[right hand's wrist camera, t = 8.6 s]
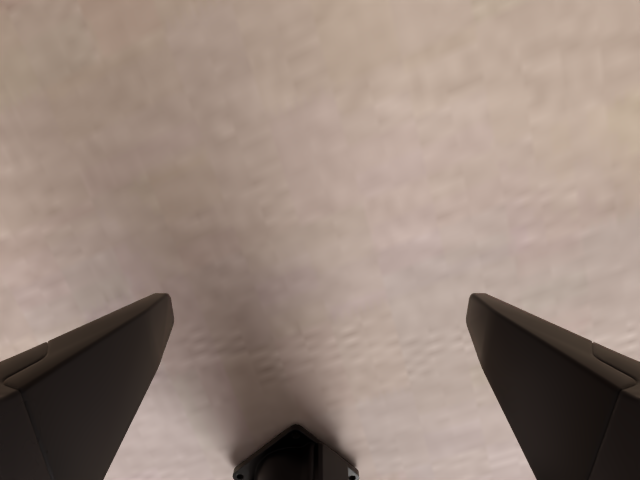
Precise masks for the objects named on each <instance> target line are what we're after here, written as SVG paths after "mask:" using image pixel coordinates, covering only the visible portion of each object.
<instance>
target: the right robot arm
mask: <svg viewBox="0 0 640 480" xmlns="http://www.w3.org/2000/svg"><path fill="white" fill-rule="evenodd" d="M173 323H174V316H173V309H172V303H171V298H170V295H169V294H167V293H155V294H152V295H150V296H148V297H145V298H143V299H141V300H139V301H136V302H134V303H132V304H130V305H128V306H125V307H123V308H121V309H119V310H116V311H114V312H112V313H110V314H108V315H105V316H103V317H101V318H99V319H96V320H94V321H92V322H90V323H88V324H85V325H83V326H81V327H79V328H76V329H74V330H72V331H70V332H67V333H65V334H63V335H61V336H59V337H56V338H54V339H52V340H50V341H48V343H47V342H45V343H43V344H41V345H38V346H36V347H34V348H32V349H29V350H27V351H25V352H23V353H20V354H18V355H16V356H13V357H11V358H8V359H6V360H4V361H1V362H0V480H103V479H104V477H105V475H106V473H107V471H108V469H109V467H110V465H111V463H112V461H113V459H114V457H115V455H116V453H117V451H118V449H119V447H120V445H121V442H122V440H123V438H124V436H125V434H126V432H127V430H128V428H129V426H130V424H131V422H132V420H133V418H134V416H135V414H136V412H137V410H138V408H139V406H140V404H141V402H142V400H143V398H144V396H145V394H146V392H147V390H148V388H149V386H150V383H151V381H152V379H153V377H154V375H155V373H156V371H157V369H158V367H159V364H160V361H161V359H162V356H163V353H164V350H165V347H166V344H167V341H168V339H169V336H170V333H171V330H172V327H173ZM466 323H467V327H468V330H469V333H470V336H471V339H472V341H473V344H474V347H475V350H476V353H477V356H478V359H479V361H480V364H481V367H482V369H483V371H484V373H485V375H486V377H487V379H488V381H489V383H490V386H491V388H492V390H493V392H494V394H495V396H496V398H497V400H498V402H499V404H500V406H501V408H502V410H503V412H504V414H505V416H506V418H507V420H508V422H509V424H510V426H511V428H512V430H513V432H514V434H515V436H516V438H517V440H518V443H519V445H520V447H521V449H522V451H523V453H524V455H525V457H526V459H527V461H528V463H529V465H530V467H531V469H532V471H533V473H534V475H535V477H536V479H537V480H640V362H639V361H636V360H634V359H632V358H629V357H627V356H624V355H622V354H620V353H617V352H615V351H613V350H611V349H608V348H606V347H604V346H602V345H599V344H597V343H595V342H593V343H592V341H590V340H588V339H586V338H584V337H581V336H579V335H577V334H575V333H573V332H570V331H568V330H566V329H564V328H561V327H559V326H557V325H555V324H552V323H550V322H548V321H546V320H544V319H541V318H539V317H537V316H535V315H532V314H530V313H528V312H526V311H524V310H521V309H519V308H517V307H515V306H512V305H510V304H508V303H506V302H504V301H501V300H499V299H497V298H495V297H492V296H490V295H488V294H485V293H473V294H471V295H470V298H469V303H468V309H467V316H466ZM233 479H234V480H359V472H358V470H357V469H356V468H355V467H353V466H352V465H351V464H350V463H348V462H347V461H346V460H344V459H343V458H342V457H340V456H339V455H338V454H337V453H335V452H334V451H333V450H331V449H330V448H329V447H327V446H326V445H325V444H324V443H322V442H321V441H320V440H318V439H317V438H316V437H314V436H313V435H312V434H311V433H309V432H308V431H307V430H305V429H304V428H303V427H301V426H300V425H292V426H290V427H289V428H288V429H286V430H285V431H284V432H282V433H281V434H280V435H278V436H277V437H276V438H274V439H273V440H272V441H270V442H269V443H268V444H266V445H265V446H264V447H262V448H261V449H260V450H259V451H257V452H256V453H255V454H253V455H252V456H251V457H249V458H248V459H247V460H245V461H244V462H243V463H241V464H240V465H239V466H237V467H236V468H235V469H234V473H233Z"/></svg>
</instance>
